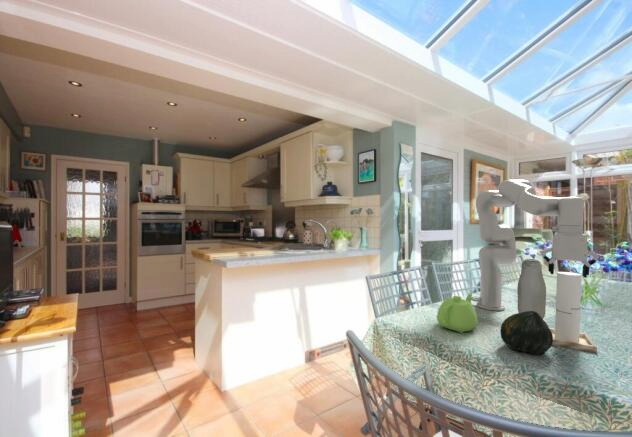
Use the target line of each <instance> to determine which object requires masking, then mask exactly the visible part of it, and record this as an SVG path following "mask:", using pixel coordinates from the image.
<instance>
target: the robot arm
mask: <svg viewBox="0 0 632 437" xmlns="http://www.w3.org/2000/svg"><path fill="white" fill-rule="evenodd" d="M515 205H517V206H518V207H519V209H520V210H522V211H524V212H526V213H527V214H531V215H532V216H538V217H557V223H556V225H555V226H552V231H556V232H554V235H553V240H552V244H551V247H549V248H546V249H543V250H540V252H539V253H540V254H541V256H542V258H543V259H544V260H545V261H546V262H547V263H548V267H547V268H548V272H549V273H550V275H554V273H555V264H554V262H555V261H556V260H558V261H571V262H581V263H582V264H583V266H582V273H581V275H582V276H581V277H583V278H587V276H589V275H590V267H591V266H592V265H594V264H596V263H597V261H598V260H599V258H600V255H599V254H597V253H595V252H593V251H591V250H589V249H588V239H587V234H584V216H585V215H584V214H585V212H584V211H585V210H584V209H585V201H584V198H583V197H579V196H564V197H558V196H557V197H555V196H538V195H537V192H536V189H535V188H534V186H533V184H532V183H531V181H528V180H526V179H505V180H503V181H501V182H500V183H499V184H498V186H497V190H496V189H494V190H493V189H490V190H483V191H481V192H479V193H478V194H477V196H476V198H475V208H476V212H477V215H478V224H479V225H478V226H479V234H480V240H481V241H482V242H483V243H487V244H499V245H486V246H485V245H484V246H482V247H481V248H480V249H479V251H478V259H479V264H480V285H479V286H480V287H479V288H480V290H479V291H480V293H479V294H480V295H479V296H477V297H475V296H472V297H471V301H472V302H476V306H477V307H478V308H481V309H484V310H488V311H489V310H490V311H498V312H499V311H504V310H505V308H506V307H505V305H503V304H502V295H503V294H502V292H503V290H502V289H503V287H502V285H503V273H502V270H501V268H500V267H499V265H512V264H514V263H515V262H516V260H517V256H518V255H517V246H516V245H517V244H516V237H515V232H514V230H513V228H512V227H511V226H509V225H508V224H507V225H506V224H499V221H498V215H497V213H496V212H495V210H494V209H493V208H510V207H511V208H512V207H513V206H515ZM548 253H551V257H550V258H549V257H548V256H547V254H548ZM588 255H589V256H591V259H590V260H588V257H589V256H588Z"/></svg>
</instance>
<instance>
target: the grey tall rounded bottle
mask: <svg viewBox="0 0 632 437" xmlns="http://www.w3.org/2000/svg"><path fill="white" fill-rule="evenodd" d="M520 267H521V271H520V275H519V278H518V281H517V287H516V288H517V289H516V290H517V313H521V312H525V311H535V312H537V313H538V314H539V315H540V316H541V317H542V319H543V320H544V318H545V317H546V311H547V310H546V306H547V285H546V282H545V279H544V274H543V265H542V263H541V261H540V260H537V259H534V258H527V259H524V260H523V261H522V262H521V266H520Z"/></svg>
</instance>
